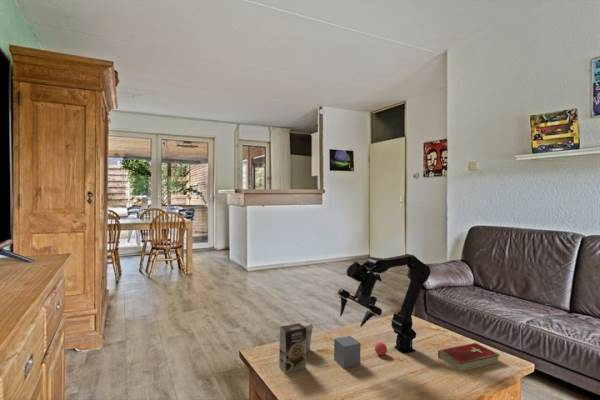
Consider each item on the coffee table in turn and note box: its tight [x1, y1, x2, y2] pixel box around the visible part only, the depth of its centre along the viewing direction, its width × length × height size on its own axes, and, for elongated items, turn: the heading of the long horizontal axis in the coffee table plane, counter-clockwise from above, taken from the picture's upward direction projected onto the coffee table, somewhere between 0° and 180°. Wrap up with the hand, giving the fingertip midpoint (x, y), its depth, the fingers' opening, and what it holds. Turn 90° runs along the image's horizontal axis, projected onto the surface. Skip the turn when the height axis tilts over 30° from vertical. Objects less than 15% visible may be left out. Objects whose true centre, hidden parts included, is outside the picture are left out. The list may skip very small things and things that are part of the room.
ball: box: [374, 342, 388, 356], centre depth 143 cm, size 5×5×5 cm
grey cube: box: [333, 335, 362, 369], centre depth 136 cm, size 8×8×9 cm
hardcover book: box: [437, 342, 500, 372], centre depth 139 cm, size 12×21×4 cm, turn 111°
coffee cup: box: [294, 319, 314, 354], centre depth 147 cm, size 8×8×12 cm
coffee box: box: [278, 323, 307, 374], centre depth 132 cm, size 9×6×16 cm
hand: (350, 321), depth 137 cm, fingers open, 9 cm apart
